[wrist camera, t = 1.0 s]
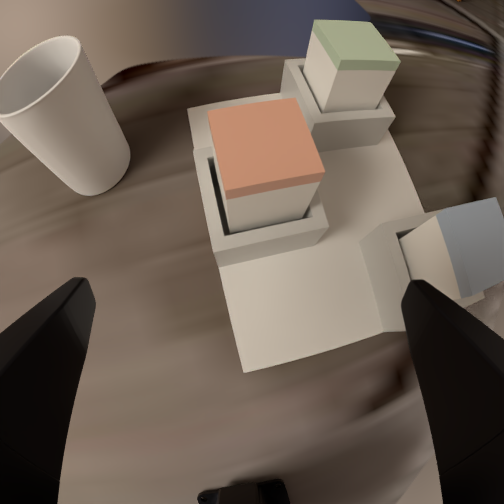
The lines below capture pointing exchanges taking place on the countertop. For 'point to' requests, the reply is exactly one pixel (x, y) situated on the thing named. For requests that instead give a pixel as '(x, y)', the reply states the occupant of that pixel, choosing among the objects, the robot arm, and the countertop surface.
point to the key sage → (348, 65)
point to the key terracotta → (264, 162)
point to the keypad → (318, 238)
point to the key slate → (458, 249)
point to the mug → (64, 115)
